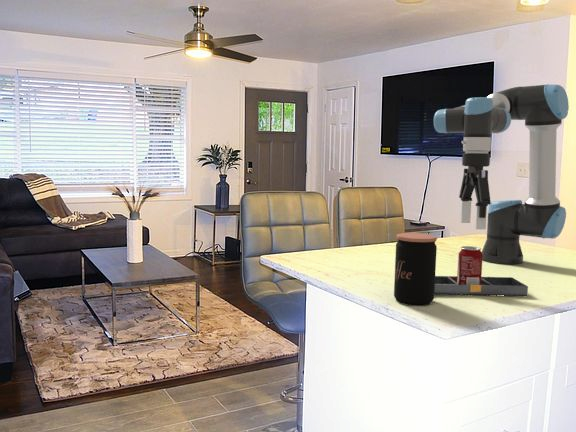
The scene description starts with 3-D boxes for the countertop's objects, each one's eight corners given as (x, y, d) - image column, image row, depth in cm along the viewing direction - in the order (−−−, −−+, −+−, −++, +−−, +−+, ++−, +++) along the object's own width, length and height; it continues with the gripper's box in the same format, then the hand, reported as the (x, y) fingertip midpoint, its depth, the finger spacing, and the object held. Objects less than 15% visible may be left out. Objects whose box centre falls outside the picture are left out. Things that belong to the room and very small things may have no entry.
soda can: (482, 291, 160) (484, 250, 158) (457, 289, 161) (460, 249, 160) (478, 286, 166) (481, 246, 165) (455, 284, 168) (457, 245, 166)
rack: (511, 287, 169) (512, 276, 169) (527, 297, 158) (528, 286, 157) (413, 285, 170) (414, 274, 169) (422, 294, 158) (423, 283, 157)
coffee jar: (389, 296, 156) (391, 232, 154) (426, 296, 157) (429, 232, 155) (400, 306, 145) (402, 238, 143) (439, 306, 146) (443, 238, 144)
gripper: (450, 152, 172) (447, 220, 174) (477, 152, 147) (473, 232, 149) (475, 152, 172) (471, 220, 174) (506, 153, 147) (501, 232, 149)
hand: (472, 226), depth 162 cm, fingers open, 13 cm apart
